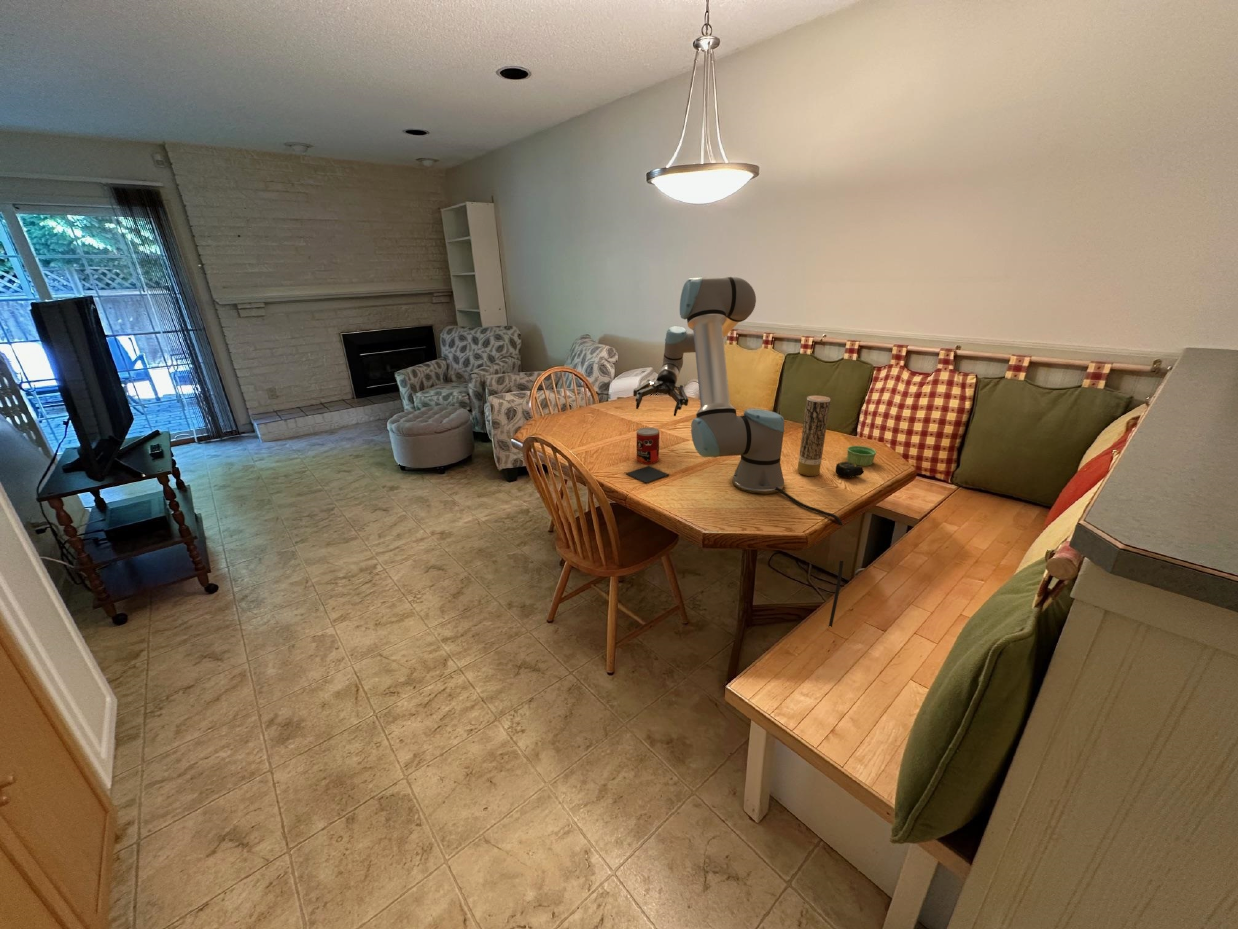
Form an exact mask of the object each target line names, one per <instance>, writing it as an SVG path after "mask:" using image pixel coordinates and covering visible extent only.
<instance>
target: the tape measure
mask: <svg viewBox="0 0 1238 929" xmlns="http://www.w3.org/2000/svg"><path fill="white" fill-rule="evenodd" d="M864 472H865V470H864V468H863V466H859V465H856V464H854V463H850V462H848V461H840V462H838V463H837V464H836V466H835V474H836V475H837V476H839V477H842V478H846V479H851V478H855V477H859V476H862V475H864V474H865V473H864Z"/></svg>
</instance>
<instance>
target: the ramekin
mask: <svg viewBox="0 0 1238 929" xmlns="http://www.w3.org/2000/svg"><path fill="white" fill-rule="evenodd" d="M846 452H847V453H846V454H847V455H846V460H847V461H846V462H850V463H854V464H856V465H857V466H860V467H866V466H871V465H872V464H873V463H874V460H875V456H876V455H877V451H876V449H874V448H871V447H868V446H863V445H852V446H848V447H847V448H846Z"/></svg>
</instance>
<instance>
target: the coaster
mask: <svg viewBox="0 0 1238 929" xmlns="http://www.w3.org/2000/svg"><path fill="white" fill-rule="evenodd" d="M625 475H627V476H629V477H631V478H633V479H635V480H637V481H639V482H642V483H644V484H650V483H651V482H654V481H657V480H661V479H663V478H666V477H669V476H670V474H669V473H667V472H665V471H662V470H661V469H657V468H655V467H653V466H650V465H647V466H643V467H641V468H638V469H635V470H631V471H629V472H626V473H625Z"/></svg>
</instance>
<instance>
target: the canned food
mask: <svg viewBox="0 0 1238 929" xmlns="http://www.w3.org/2000/svg"><path fill="white" fill-rule="evenodd" d="M635 438H636V460H637V462H638V463H640V464H645V465H651V464H656V463H657V462H658V461H659V460H660V429H658V428H656V427H641V428H638V429H636V437H635Z"/></svg>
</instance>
